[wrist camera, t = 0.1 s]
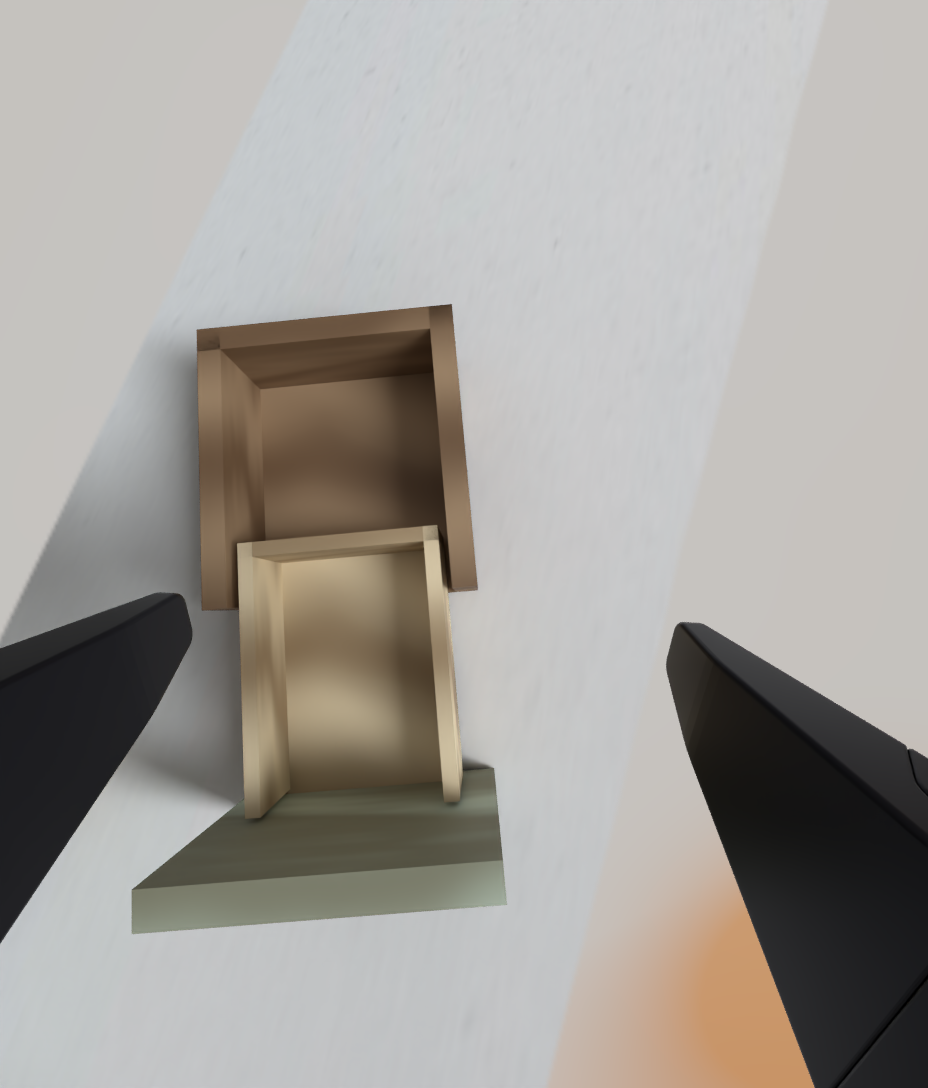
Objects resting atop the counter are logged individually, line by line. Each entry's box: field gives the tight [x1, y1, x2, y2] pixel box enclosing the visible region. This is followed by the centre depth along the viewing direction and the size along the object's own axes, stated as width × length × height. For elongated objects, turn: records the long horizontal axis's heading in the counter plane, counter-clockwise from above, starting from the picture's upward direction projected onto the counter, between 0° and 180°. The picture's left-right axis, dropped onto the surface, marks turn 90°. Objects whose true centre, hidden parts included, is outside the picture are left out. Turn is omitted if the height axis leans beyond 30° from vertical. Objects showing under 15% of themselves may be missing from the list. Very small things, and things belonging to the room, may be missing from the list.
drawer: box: [132, 525, 507, 934], centre depth 19 cm, size 12×11×8 cm
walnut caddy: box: [197, 304, 478, 611], centre depth 23 cm, size 12×11×4 cm
